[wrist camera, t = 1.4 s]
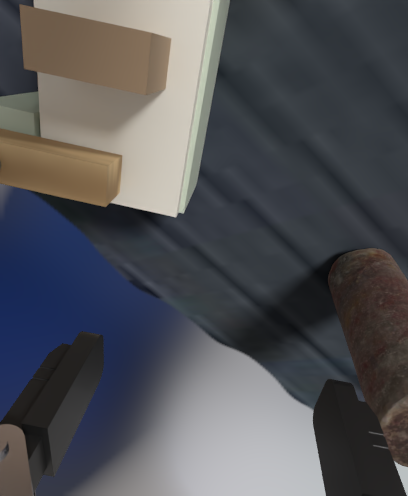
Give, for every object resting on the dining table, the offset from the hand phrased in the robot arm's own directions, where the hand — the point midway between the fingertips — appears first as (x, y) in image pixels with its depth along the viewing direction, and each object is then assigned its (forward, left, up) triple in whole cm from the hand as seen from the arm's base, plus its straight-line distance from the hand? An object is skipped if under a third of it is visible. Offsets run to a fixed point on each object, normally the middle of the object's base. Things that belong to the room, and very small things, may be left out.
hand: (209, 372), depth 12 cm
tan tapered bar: (-1, -14, -16) cm, 21 cm away
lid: (-9, -10, -18) cm, 22 cm away
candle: (+8, +16, -26) cm, 32 cm away
